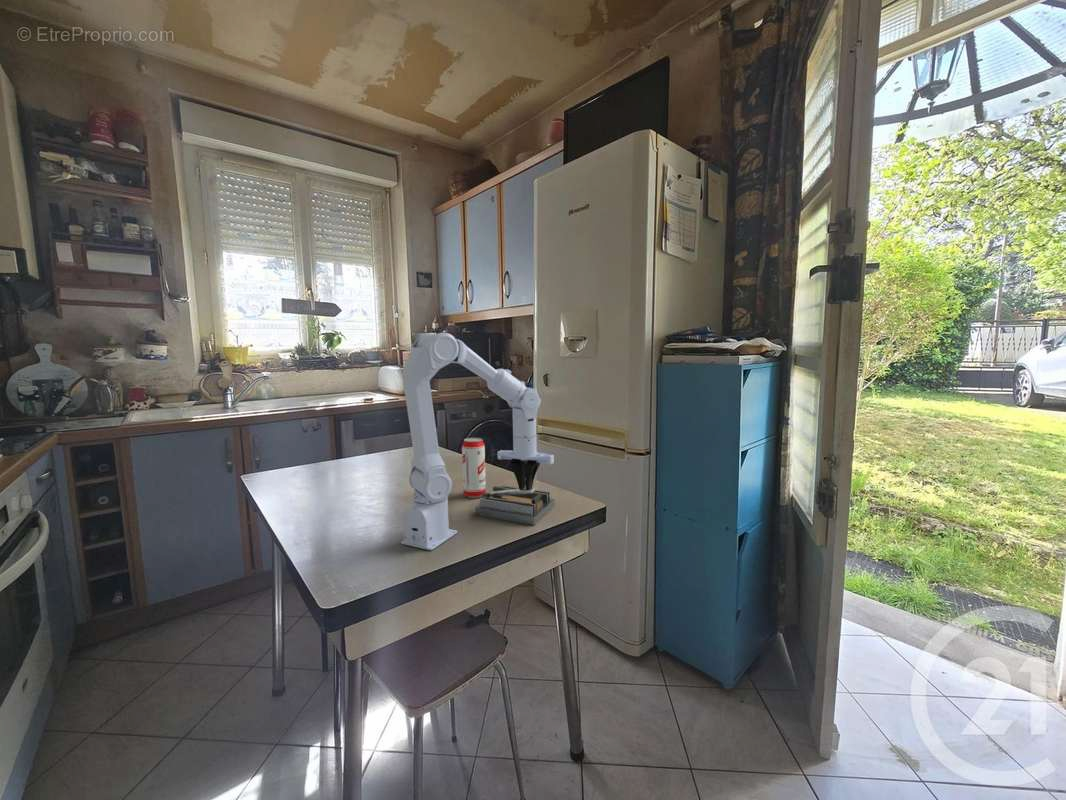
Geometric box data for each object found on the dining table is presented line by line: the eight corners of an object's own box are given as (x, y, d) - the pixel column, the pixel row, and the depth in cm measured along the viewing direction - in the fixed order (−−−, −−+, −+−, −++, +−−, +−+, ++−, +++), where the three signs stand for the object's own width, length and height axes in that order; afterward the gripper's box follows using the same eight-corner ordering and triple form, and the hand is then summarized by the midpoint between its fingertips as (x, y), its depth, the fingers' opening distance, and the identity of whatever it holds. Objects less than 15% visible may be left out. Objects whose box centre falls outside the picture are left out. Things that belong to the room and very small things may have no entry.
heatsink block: (534, 525, 99) (534, 506, 99) (475, 515, 106) (474, 497, 105) (554, 506, 111) (554, 489, 110) (500, 498, 117) (500, 482, 117)
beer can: (487, 491, 123) (486, 437, 121) (483, 499, 117) (481, 441, 115) (466, 491, 124) (464, 437, 122) (460, 498, 117) (459, 441, 116)
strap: (530, 494, 104) (529, 490, 104) (486, 498, 109) (485, 494, 109) (536, 489, 107) (535, 486, 107) (494, 493, 113) (493, 490, 113)
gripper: (558, 434, 105) (558, 488, 107) (506, 430, 111) (507, 481, 113) (547, 440, 99) (548, 497, 101) (492, 436, 105) (494, 489, 107)
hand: (525, 489), depth 106 cm, fingers closed
